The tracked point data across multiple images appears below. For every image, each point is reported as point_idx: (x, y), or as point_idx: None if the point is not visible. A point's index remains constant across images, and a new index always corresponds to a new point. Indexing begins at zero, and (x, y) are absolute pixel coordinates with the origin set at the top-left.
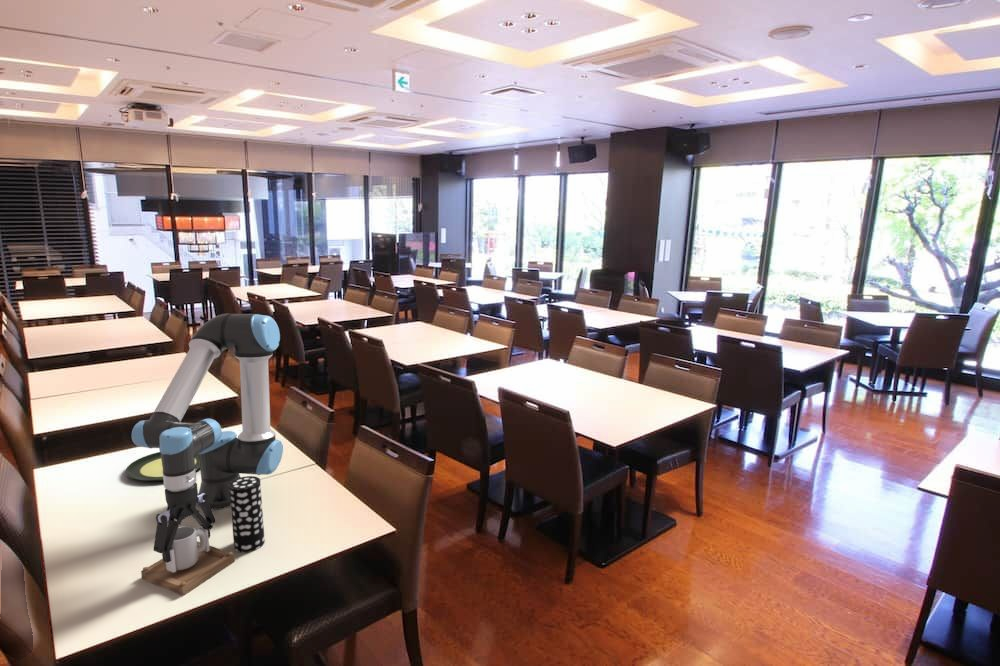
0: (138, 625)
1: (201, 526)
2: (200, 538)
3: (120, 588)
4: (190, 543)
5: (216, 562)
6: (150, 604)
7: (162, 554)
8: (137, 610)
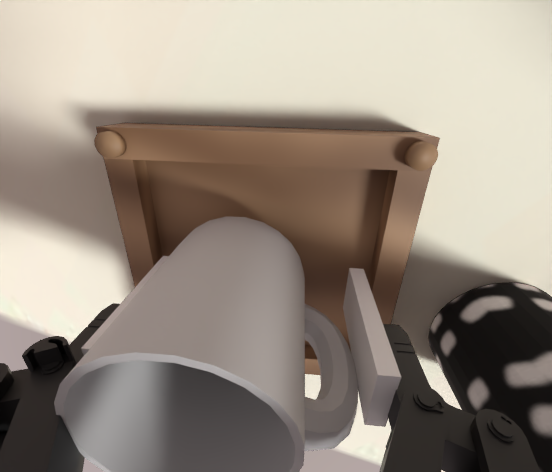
0: (31, 322)
1: (404, 393)
2: (359, 322)
3: (34, 93)
4: (210, 437)
5: (306, 361)
6: (85, 284)
7: (75, 341)
8: (47, 272)
